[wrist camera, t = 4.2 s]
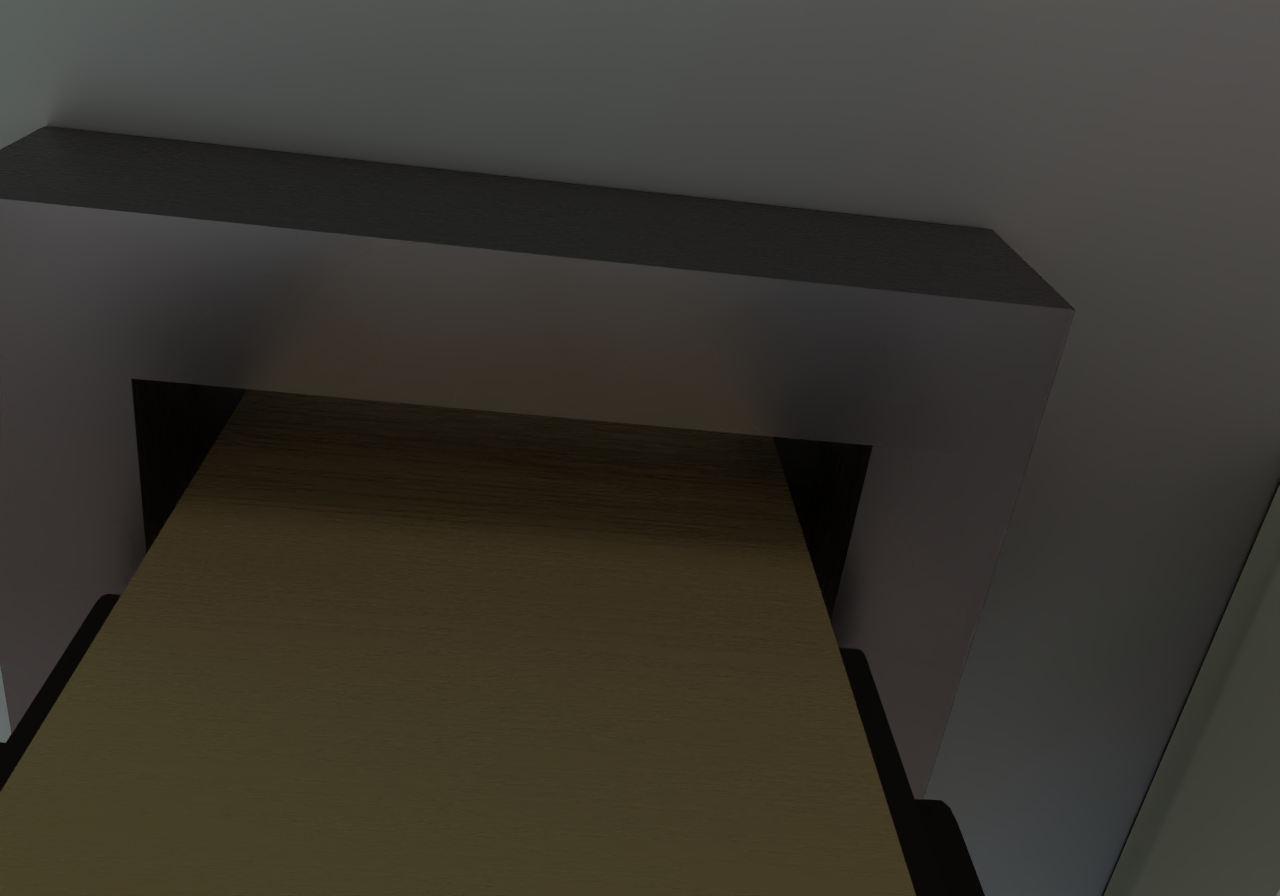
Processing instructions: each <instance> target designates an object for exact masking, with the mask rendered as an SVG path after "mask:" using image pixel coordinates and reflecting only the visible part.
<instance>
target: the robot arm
mask: <svg viewBox="0 0 1280 896" xmlns="http://www.w3.org/2000/svg"><path fill="white" fill-rule="evenodd" d="M120 596H121V595H118V594H105V595H102V596H101V597H100V598H99V599H98V601H97V602H96V603H95V605H94V606H93V608H92V609H91V611H90V612H89V614H88V616H87V617H86V619H85V620H84V622H83V623H82V625H81V627H80V628H79V630H78V631H77V633H76V634H75V636H74V637H73V639H72V641H71V642H70V644H69V645H68V647H67V648H66V650H65V652H64V653H63V655H62V656H61V658H60V659H59V661H58V662H57V664H56V666H55V667H54V669H53V670H52V672H51V673H50V675H49V677H48V678H47V680H46V681H45V683H44V684H43V686H42V687H41V689H40V691H39V692H38V694H37V695H36V697H35V698H34V700H33V702H32V703H31V705H30V706H29V708H28V709H27V711H26V712H25V714H24V716H23V717H22V719H21V720H20V722H19V723H18V725H17V727H16V728H15V730H14V731H13V733H12V734H11V736H10V737H9V739H8V741H7V742H6V743H0V792H1V790H2V789H3V787H4V785H5V784H6V782H7V780H8V779H9V777H10V776H11V774H12V772H13V771H14V769H15V767H16V766H17V764H18V763H19V761H20V759H21V758H22V756H23V754H24V753H25V751H26V750H27V748H28V746H29V745H30V743H31V741H32V740H33V738H34V736H35V735H36V733H37V732H38V730H39V728H40V727H41V725H42V723H43V722H44V720H45V719H46V717H47V715H48V714H49V712H50V710H51V709H52V707H53V706H54V704H55V702H56V701H57V699H58V697H59V696H60V694H61V692H62V691H63V689H64V688H65V686H66V684H67V683H68V681H69V679H70V678H71V676H72V675H73V673H74V671H75V670H76V668H77V666H78V665H79V663H80V662H81V660H82V658H83V657H84V655H85V653H86V652H87V650H88V648H89V647H90V645H91V644H92V642H93V640H94V639H95V637H96V635H97V634H98V632H99V631H100V629H101V627H102V626H103V624H104V622H105V621H106V619H107V618H108V616H109V614H110V613H111V611H112V609H113V608H114V606H115V604H116V603H117V601H118V600H119V598H120ZM839 651H840V654H841V657H842V660H843V664H844V667H845V670H846V673H847V676H848V680H849V683H850V686H851V689H852V692H853V696H854V699H855V702H856V705H857V708H858V712H859V715H860V718H861V721H862V724H863V728H864V731H865V734H866V737H867V740H868V744H869V747H870V750H871V753H872V756H873V759H874V763H875V766H876V769H877V772H878V775H879V779H880V782H881V785H882V788H883V791H884V795H885V798H886V801H887V804H888V807H889V811H890V814H891V817H892V820H893V823H894V827H895V830H896V833H897V836H898V839H899V843H900V846H901V849H902V852H903V855H904V859H905V862H906V865H907V868H908V871H909V875H910V878H911V881H912V884H913V887H914V891H915V894H916V896H985V895H984V892H983V890H982V887H981V884H980V882H979V879H978V876H977V874H976V871H975V868H974V866H973V863H972V860H971V858H970V855H969V852H968V850H967V847H966V844H965V842H964V839H963V836H962V834H961V831H960V829H959V826H958V823H957V821H956V819H955V817H954V815H953V813H952V811H951V809H950V808H949V807H948V806H947V805H946V804H945V803H944V802H943V801H939V800H923V799H914V796H913V793H912V790H911V787H910V784H909V781H908V778H907V775H906V772H905V769H904V767H903V764H902V761H901V758H900V755H899V752H898V749H897V746H896V743H895V740H894V737H893V734H892V731H891V729H890V726H889V723H888V720H887V717H886V714H885V711H884V708H883V705H882V702H881V699H880V696H879V693H878V691H877V688H876V685H875V682H874V679H873V676H872V673H871V670H870V667H869V664H868V661H867V659H866V657H865V655H864V653H863V651H861V650H860V649H851V648H839Z"/></svg>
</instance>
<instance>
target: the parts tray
mask: <svg viewBox="0 0 1280 896" xmlns="http://www.w3.org/2000/svg"><path fill="white" fill-rule="evenodd" d="M1104 896H1280V485H1279V487H1278V489H1277V492H1276V494H1275V496H1274V499H1273V501H1272V503H1271V506H1270V508H1269V510H1268V513H1267V515H1266V517H1265V520H1264V522H1263V524H1262V527H1261V529H1260V531H1259V534H1258V536H1257V538H1256V541H1255V543H1254V545H1253V548H1252V550H1251V552H1250V555H1249V557H1248V559H1247V562H1246V564H1245V566H1244V569H1243V571H1242V574H1241V576H1240V578H1239V581H1238V583H1237V585H1236V588H1235V590H1234V592H1233V595H1232V597H1231V599H1230V602H1229V604H1228V606H1227V609H1226V611H1225V613H1224V616H1223V618H1222V620H1221V623H1220V625H1219V627H1218V630H1217V632H1216V634H1215V637H1214V639H1213V641H1212V644H1211V646H1210V648H1209V651H1208V653H1207V655H1206V658H1205V660H1204V662H1203V665H1202V667H1201V669H1200V672H1199V674H1198V676H1197V679H1196V681H1195V683H1194V686H1193V688H1192V690H1191V693H1190V695H1189V697H1188V700H1187V702H1186V704H1185V707H1184V709H1183V711H1182V714H1181V716H1180V718H1179V721H1178V723H1177V725H1176V728H1175V730H1174V732H1173V735H1172V737H1171V739H1170V742H1169V744H1168V746H1167V749H1166V751H1165V753H1164V756H1163V758H1162V760H1161V763H1160V765H1159V767H1158V770H1157V772H1156V774H1155V777H1154V779H1153V781H1152V784H1151V786H1150V788H1149V791H1148V793H1147V795H1146V798H1145V800H1144V802H1143V805H1142V807H1141V809H1140V812H1139V814H1138V816H1137V819H1136V821H1135V823H1134V826H1133V828H1132V830H1131V833H1130V835H1129V837H1128V840H1127V842H1126V844H1125V847H1124V849H1123V851H1122V854H1121V856H1120V858H1119V861H1118V863H1117V865H1116V868H1115V870H1114V872H1113V875H1112V877H1111V880H1110V882H1109V884H1108V887H1107V889H1106V891H1105V894H1104Z"/></svg>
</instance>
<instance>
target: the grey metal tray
mask: <svg viewBox="0 0 1280 896" xmlns="http://www.w3.org/2000/svg"><path fill="white" fill-rule="evenodd" d="M1074 313H1075V309H1074V308H1073V307H1072V306H1071V305H1070V304H1069V303H1068V302H1067V301H1066V300H1065V299H1064V298H1063V297H1062V296H1061V295H1059V294H1058V293H1057V292H1056V291H1055V290H1054V289H1053V288H1052V287H1051V286H1050V285H1049V284H1048V283H1047V282H1046V281H1045V280H1044V279H1043V278H1042V277H1041V276H1040V275H1039V274H1038V273H1037V272H1036V271H1035V270H1033V269H1032V268H1031V267H1030V266H1029V265H1028V264H1027V263H1026V262H1025V261H1024V260H1023V259H1022V258H1021V257H1020V256H1019V255H1018V254H1017V253H1016V252H1015V251H1014V250H1013V249H1012V248H1011V247H1010V246H1009V245H1007V244H1006V243H1005V242H1004V241H1003V240H1002V239H1001V238H1000V237H999V236H998V235H997V234H996V233H995V232H994V231H993V230H988V229H979V228H970V227H961V226H952V225H942V224H933V223H924V222H915V221H906V220H897V219H888V218H878V217H869V216H860V215H851V214H842V213H833V212H823V211H814V210H805V209H796V208H787V207H778V206H769V205H759V204H750V203H741V202H732V201H723V200H714V199H705V198H695V197H686V196H677V195H668V194H659V193H650V192H640V191H631V190H622V189H613V188H604V187H595V186H586V185H576V184H567V183H558V182H549V181H540V180H531V179H522V178H512V177H503V176H494V175H485V174H476V173H467V172H457V171H448V170H439V169H430V168H421V167H412V166H403V165H393V164H384V163H375V162H366V161H357V160H348V159H339V158H329V157H320V156H311V155H302V154H293V153H284V152H275V151H265V150H256V149H247V148H238V147H229V146H220V145H210V144H201V143H192V142H183V141H174V140H165V139H156V138H146V137H137V136H128V135H119V134H110V133H101V132H92V131H82V130H73V129H64V128H55V127H46V126H44V127H42V128H40V129H38V130H36V131H35V132H33V133H31V134H29V135H27V136H25V137H23V138H21V139H20V140H18V141H16V142H14V143H12V144H10V145H8V146H6V147H5V148H3V149H1V150H0V665H1V671H2V678H3V684H4V690H5V696H6V702H7V708H8V714H9V721H10V727H11V733H13V731H14V730H15V728H16V727H17V725H18V723H19V722H20V720H21V719H22V717H23V716H24V714H25V712H26V711H27V709H28V708H29V706H30V705H31V703H32V702H33V700H34V698H35V697H36V695H37V694H38V692H39V691H40V689H41V687H42V686H43V684H44V683H45V681H46V680H47V678H48V677H49V675H50V673H51V672H52V670H53V669H54V667H55V666H56V664H57V662H58V661H59V659H60V658H61V656H62V655H63V653H64V652H65V650H66V648H67V647H68V645H69V644H70V642H71V641H72V639H73V637H74V636H75V634H76V633H77V631H78V630H79V628H80V627H81V625H82V623H83V622H84V620H85V619H86V617H87V616H88V614H89V612H90V611H91V609H92V608H93V606H94V605H95V603H96V602H97V601H98V599H99V598H100V597H101V596H102V595H105V594H118V595H122V593H123V591H124V590H125V588H126V587H127V585H128V583H129V582H130V580H131V578H132V577H133V575H134V574H135V572H136V570H137V569H138V567H139V565H140V564H141V562H142V560H143V559H144V557H145V556H146V554H147V552H148V551H149V549H150V547H151V546H152V544H153V543H154V541H155V539H156V538H157V536H158V534H159V533H160V531H161V530H162V528H163V526H164V525H165V523H166V521H167V520H168V518H169V516H170V515H171V513H172V512H173V510H174V508H175V507H176V505H177V503H178V502H179V500H180V499H181V497H182V495H183V494H184V492H185V490H186V489H187V487H188V486H189V484H190V482H191V481H192V479H193V477H194V476H195V474H196V472H197V471H198V469H199V468H200V466H201V464H202V463H203V461H204V459H205V458H206V456H207V455H208V453H209V451H210V450H211V448H212V446H213V445H214V443H215V442H216V440H217V438H218V437H219V435H220V433H221V432H222V430H223V428H224V427H225V425H226V424H227V422H228V420H229V419H230V417H231V415H232V414H233V412H234V411H235V409H236V407H237V406H238V404H239V402H240V401H241V399H242V398H243V396H244V394H245V393H246V391H247V389H253V390H264V391H275V392H286V393H297V394H308V395H319V396H330V397H341V398H352V399H363V400H374V401H386V402H397V403H408V404H419V405H430V406H441V407H452V408H463V409H474V410H485V411H496V412H507V413H518V414H529V415H540V416H551V417H562V418H573V419H584V420H595V421H606V422H617V423H628V424H639V425H650V426H662V427H673V428H684V429H695V430H706V431H717V432H728V433H739V434H750V435H761V436H772V437H773V440H774V443H775V446H776V449H777V453H778V456H779V459H780V462H781V465H782V469H783V472H784V475H785V478H786V481H787V485H788V488H789V491H790V494H791V497H792V501H793V504H794V507H795V510H796V513H797V517H798V520H799V523H800V526H801V529H802V533H803V536H804V539H805V542H806V545H807V549H808V552H809V555H810V558H811V561H812V565H813V568H814V571H815V574H816V577H817V580H818V584H819V587H820V590H821V593H822V596H823V600H824V603H825V606H826V609H827V612H828V616H829V619H830V622H831V625H832V628H833V632H834V635H835V638H836V641H837V644H838V648H851V649H860V650H861V651H863V653H864V655H865V657H866V659H867V661H868V664H869V667H870V670H871V673H872V676H873V679H874V682H875V685H876V688H877V691H878V693H879V696H880V699H881V702H882V705H883V708H884V711H885V714H886V717H887V720H888V723H889V726H890V729H891V731H892V734H893V737H894V740H895V743H896V746H897V749H898V752H899V755H900V758H901V761H902V764H903V767H904V769H905V772H906V775H907V778H908V781H909V784H910V787H911V790H912V793H913V796H914V799H923V798H924V795H925V791H926V788H927V785H928V782H929V779H930V775H931V772H932V769H933V766H934V763H935V759H936V756H937V753H938V750H939V747H940V743H941V740H942V737H943V734H944V730H945V727H946V724H947V721H948V718H949V714H950V711H951V708H952V705H953V702H954V698H955V695H956V692H957V689H958V686H959V682H960V679H961V676H962V673H963V669H964V666H965V663H966V660H967V657H968V653H969V650H970V647H971V644H972V641H973V637H974V634H975V631H976V628H977V624H978V621H979V618H980V615H981V612H982V608H983V605H984V602H985V599H986V596H987V592H988V589H989V586H990V583H991V580H992V576H993V573H994V570H995V567H996V563H997V560H998V557H999V554H1000V551H1001V547H1002V544H1003V541H1004V538H1005V535H1006V531H1007V528H1008V525H1009V522H1010V519H1011V515H1012V512H1013V509H1014V506H1015V502H1016V499H1017V496H1018V493H1019V490H1020V486H1021V483H1022V480H1023V477H1024V474H1025V470H1026V467H1027V464H1028V461H1029V458H1030V454H1031V451H1032V448H1033V445H1034V441H1035V438H1036V435H1037V432H1038V429H1039V425H1040V422H1041V419H1042V416H1043V413H1044V409H1045V406H1046V403H1047V400H1048V396H1049V393H1050V390H1051V387H1052V384H1053V380H1054V377H1055V374H1056V371H1057V368H1058V364H1059V361H1060V358H1061V355H1062V352H1063V348H1064V345H1065V342H1066V339H1067V335H1068V332H1069V329H1070V326H1071V323H1072V319H1073V316H1074Z"/></svg>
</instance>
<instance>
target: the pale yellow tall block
mask: <svg viewBox="0 0 1280 896" xmlns="http://www.w3.org/2000/svg"><path fill="white" fill-rule="evenodd" d="M0 896H916V894H915V891H914V887H913V884H912V881H911V878H910V875H909V871H908V868H907V865H906V862H905V859H904V855H903V852H902V849H901V846H900V843H899V839H898V836H897V833H896V830H895V827H894V823H893V820H892V817H891V814H890V811H889V807H888V804H887V801H886V798H885V795H884V791H883V788H882V785H881V782H880V779H879V775H878V772H877V769H876V766H875V763H874V759H873V756H872V753H871V750H870V747H869V744H868V740H867V737H866V734H865V731H864V728H863V724H862V721H861V718H860V715H859V712H858V708H857V705H856V702H855V699H854V696H853V692H852V689H851V686H850V683H849V680H848V676H847V673H846V670H845V667H844V664H843V660H842V657H841V654H840V651H839V648H838V644H837V641H836V638H835V635H834V632H833V628H832V625H831V622H830V619H829V616H828V612H827V609H826V606H825V603H824V600H823V596H822V593H821V590H820V587H819V584H818V580H817V577H816V574H815V571H814V568H813V565H812V561H811V558H810V555H809V552H808V549H807V545H806V542H805V539H804V536H803V533H802V529H801V526H800V523H799V520H798V517H797V513H796V510H795V507H794V504H793V501H792V497H791V494H790V491H789V488H788V485H787V481H786V478H785V475H784V472H783V469H782V465H781V462H780V459H779V456H778V453H777V449H776V446H775V443H774V440H773V437H772V436H761V435H750V434H739V433H728V432H717V431H706V430H695V429H684V428H673V427H662V426H650V425H639V424H628V423H617V422H606V421H595V420H584V419H573V418H562V417H551V416H540V415H529V414H518V413H507V412H496V411H485V410H474V409H463V408H452V407H441V406H430V405H419V404H408V403H397V402H386V401H374V400H363V399H352V398H341V397H330V396H319V395H308V394H297V393H286V392H275V391H264V390H253V389H247V391H246V393H245V394H244V396H243V398H242V399H241V401H240V402H239V404H238V406H237V407H236V409H235V411H234V412H233V414H232V415H231V417H230V419H229V420H228V422H227V424H226V425H225V427H224V428H223V430H222V432H221V433H220V435H219V437H218V438H217V440H216V442H215V443H214V445H213V446H212V448H211V450H210V451H209V453H208V455H207V456H206V458H205V459H204V461H203V463H202V464H201V466H200V468H199V469H198V471H197V472H196V474H195V476H194V477H193V479H192V481H191V482H190V484H189V486H188V487H187V489H186V490H185V492H184V494H183V495H182V497H181V499H180V500H179V502H178V503H177V505H176V507H175V508H174V510H173V512H172V513H171V515H170V516H169V518H168V520H167V521H166V523H165V525H164V526H163V528H162V530H161V531H160V533H159V534H158V536H157V538H156V539H155V541H154V543H153V544H152V546H151V547H150V549H149V551H148V552H147V554H146V556H145V557H144V559H143V560H142V562H141V564H140V565H139V567H138V569H137V570H136V572H135V574H134V575H133V577H132V578H131V580H130V582H129V583H128V585H127V587H126V588H125V590H124V591H123V593H122V595H121V596H120V598H119V600H118V601H117V603H116V604H115V606H114V608H113V609H112V611H111V613H110V614H109V616H108V618H107V619H106V621H105V622H104V624H103V626H102V627H101V629H100V631H99V632H98V634H97V635H96V637H95V639H94V640H93V642H92V644H91V645H90V647H89V648H88V650H87V652H86V653H85V655H84V657H83V658H82V660H81V662H80V663H79V665H78V666H77V668H76V670H75V671H74V673H73V675H72V676H71V678H70V679H69V681H68V683H67V684H66V686H65V688H64V689H63V691H62V692H61V694H60V696H59V697H58V699H57V701H56V702H55V704H54V706H53V707H52V709H51V710H50V712H49V714H48V715H47V717H46V719H45V720H44V722H43V723H42V725H41V727H40V728H39V730H38V732H37V733H36V735H35V736H34V738H33V740H32V741H31V743H30V745H29V746H28V748H27V750H26V751H25V753H24V754H23V756H22V758H21V759H20V761H19V763H18V764H17V766H16V767H15V769H14V771H13V772H12V774H11V776H10V777H9V779H8V780H7V782H6V784H5V785H4V787H3V789H2V790H1V792H0Z"/></svg>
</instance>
